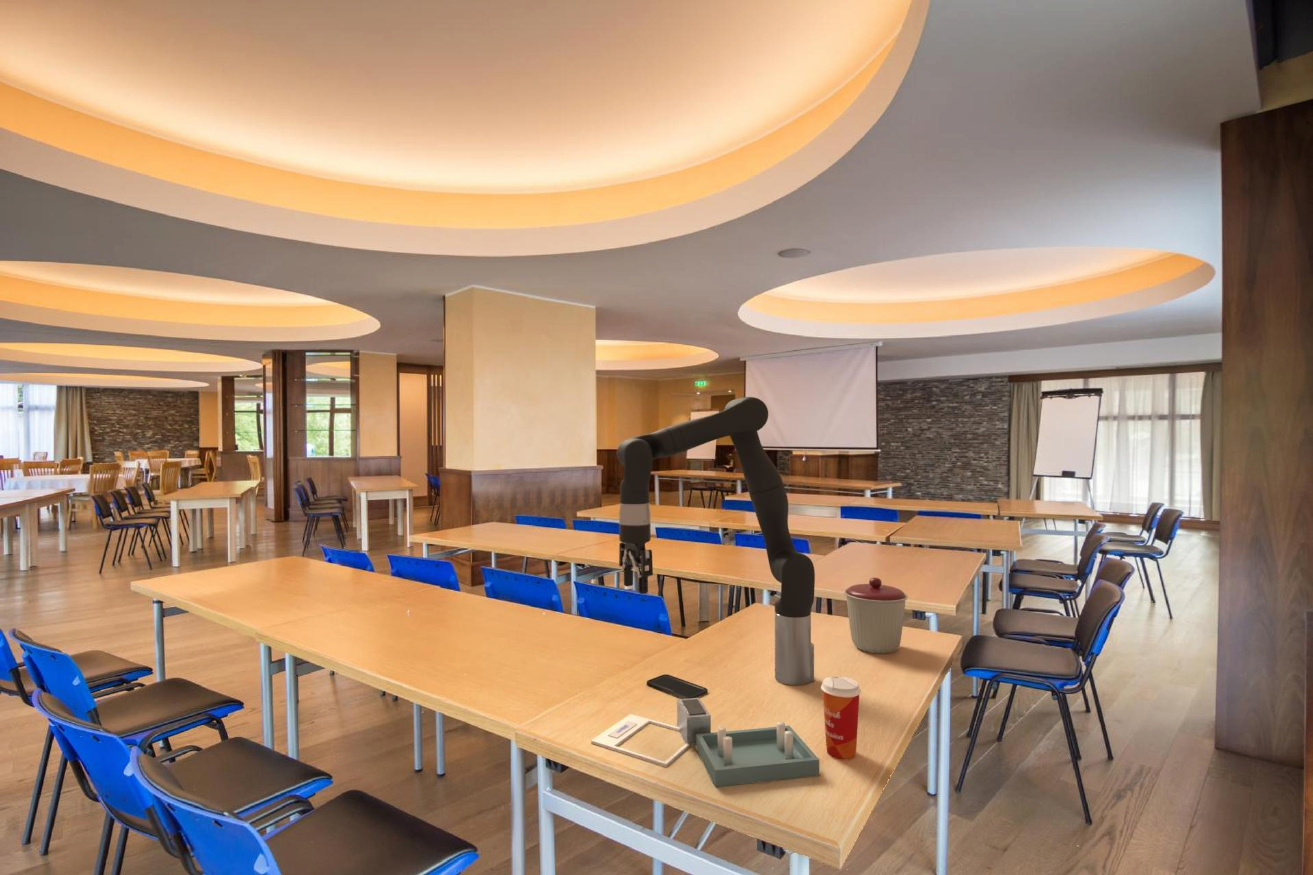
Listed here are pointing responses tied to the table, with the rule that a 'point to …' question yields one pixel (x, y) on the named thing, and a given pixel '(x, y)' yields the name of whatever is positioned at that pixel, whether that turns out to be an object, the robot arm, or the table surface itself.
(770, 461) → the robot arm
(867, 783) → the table surface
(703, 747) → the tray
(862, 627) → the canister
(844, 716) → the paper cup
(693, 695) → the phone
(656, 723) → the photo frame
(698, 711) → the block
